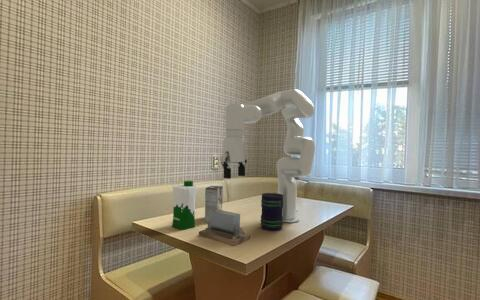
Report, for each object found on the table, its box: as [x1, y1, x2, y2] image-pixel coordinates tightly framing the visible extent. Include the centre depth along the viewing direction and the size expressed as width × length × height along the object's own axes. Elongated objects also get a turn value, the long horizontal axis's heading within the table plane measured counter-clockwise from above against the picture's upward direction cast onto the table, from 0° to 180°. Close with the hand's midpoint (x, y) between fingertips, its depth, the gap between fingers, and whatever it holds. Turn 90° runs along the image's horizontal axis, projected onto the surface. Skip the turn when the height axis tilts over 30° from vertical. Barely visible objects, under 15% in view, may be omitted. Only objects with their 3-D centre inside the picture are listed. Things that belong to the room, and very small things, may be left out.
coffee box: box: [204, 185, 224, 222], centre depth 130 cm, size 9×6×16 cm
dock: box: [198, 220, 251, 246], centre depth 105 cm, size 10×18×5 cm, turn 55°
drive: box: [210, 209, 241, 237], centre depth 105 cm, size 4×12×8 cm, turn 55°
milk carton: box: [172, 180, 198, 231], centre depth 116 cm, size 9×9×20 cm
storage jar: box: [260, 192, 284, 232], centre depth 118 cm, size 10×10×15 cm
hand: (234, 177), depth 107 cm, fingers open, 9 cm apart
